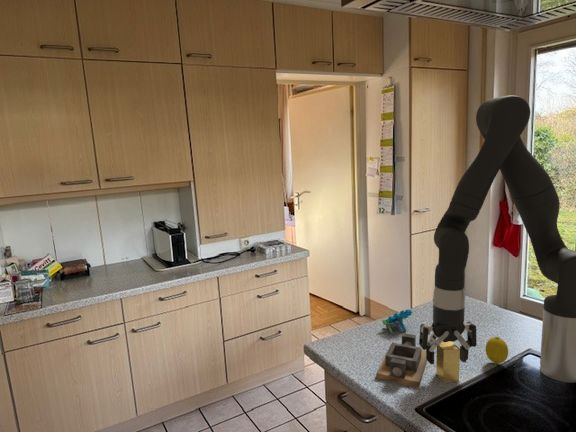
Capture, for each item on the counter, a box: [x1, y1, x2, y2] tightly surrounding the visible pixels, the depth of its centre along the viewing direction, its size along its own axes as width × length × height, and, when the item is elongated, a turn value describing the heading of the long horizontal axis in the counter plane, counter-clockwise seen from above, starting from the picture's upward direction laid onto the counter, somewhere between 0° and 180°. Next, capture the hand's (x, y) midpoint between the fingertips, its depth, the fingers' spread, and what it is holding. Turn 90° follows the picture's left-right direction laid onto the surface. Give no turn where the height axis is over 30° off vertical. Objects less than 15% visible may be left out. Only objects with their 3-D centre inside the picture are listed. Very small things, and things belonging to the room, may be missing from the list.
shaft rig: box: [375, 332, 428, 388], centre depth 111 cm, size 11×17×6 cm, turn 153°
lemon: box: [485, 336, 509, 365], centre depth 110 cm, size 6×6×8 cm
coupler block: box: [435, 341, 461, 383], centre depth 105 cm, size 4×4×9 cm
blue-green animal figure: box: [382, 308, 413, 334], centre depth 134 cm, size 11×6×10 cm
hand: (447, 362), depth 105 cm, fingers open, 8 cm apart
